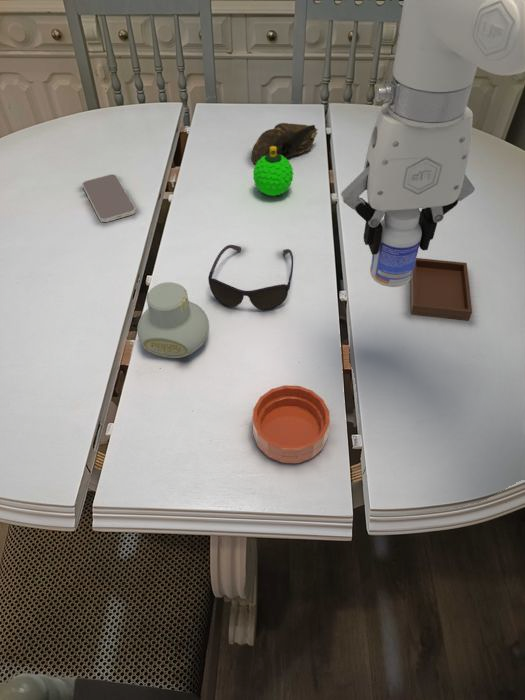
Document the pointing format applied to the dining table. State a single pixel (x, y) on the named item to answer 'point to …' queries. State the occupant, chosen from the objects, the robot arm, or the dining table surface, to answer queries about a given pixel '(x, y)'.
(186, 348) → the air freshener
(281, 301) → the sunglasses
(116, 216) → the smartphone
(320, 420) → the bowl
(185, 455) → the dining table surface
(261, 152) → the brown curved chunk
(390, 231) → the pill bottle
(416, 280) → the tray
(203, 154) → the dining table surface
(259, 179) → the ornament
